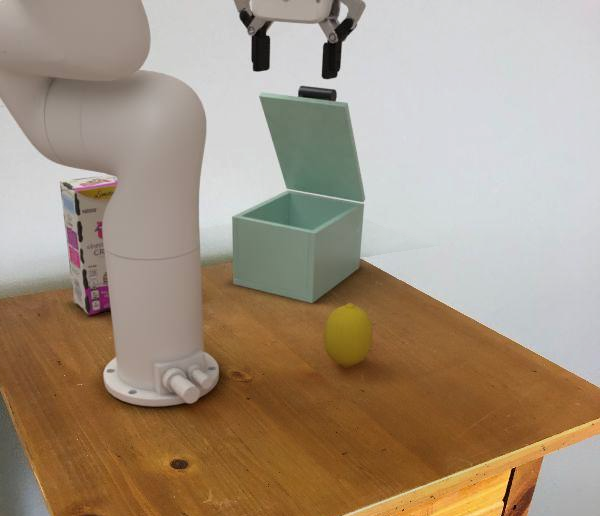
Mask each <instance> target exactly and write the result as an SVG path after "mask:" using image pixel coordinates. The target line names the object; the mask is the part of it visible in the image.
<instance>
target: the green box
mask: <svg viewBox="0 0 600 516" xmlns="http://www.w3.org/2000/svg"><path fill="white" fill-rule="evenodd" d="M364 209H365V203H363V202H357V201H352V200H346V199H340V198H335V197H329V196H324V195H318V194H312V193H307V192H301V191H296V190H290V189H286V191H283V192H281V193H279V194H277V195H275V196H272V197H270V198H268V199H265V200H264V201H262V202H260V203H257V204H255V205H254V206H252V207H249V208H248V209H245V210H243V211H241V212H239V213H237V214H235V215H232V217H231V225H232V227H231V228H232V230H231V233H232V234H231V235H232V283H233V285H236V286H239V287H244V288H248V289H252V290H256V291H260V292H264V293H269V294H272V295H276V296H281V297H284V298H288V299H292V300H297V301H301V302H304V303H305V302H306V303H310V304H313V303H315V302H316V301H318V300H319V299H320V298H321V297H322V296H324V295H325V294H327V293H328V292H329V291H331V290H332V289H333V288H335V287H336V286H337V285H339V284H340V283H342V282H343V281H344V280H345V279H347V278H348V277H349V276H350V275H352V274H353V273H355V272H356V271H357V270H359V269H360V263H361V252H362V238H363V226H364V225H363V223H364V211H365V210H364Z"/></svg>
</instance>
